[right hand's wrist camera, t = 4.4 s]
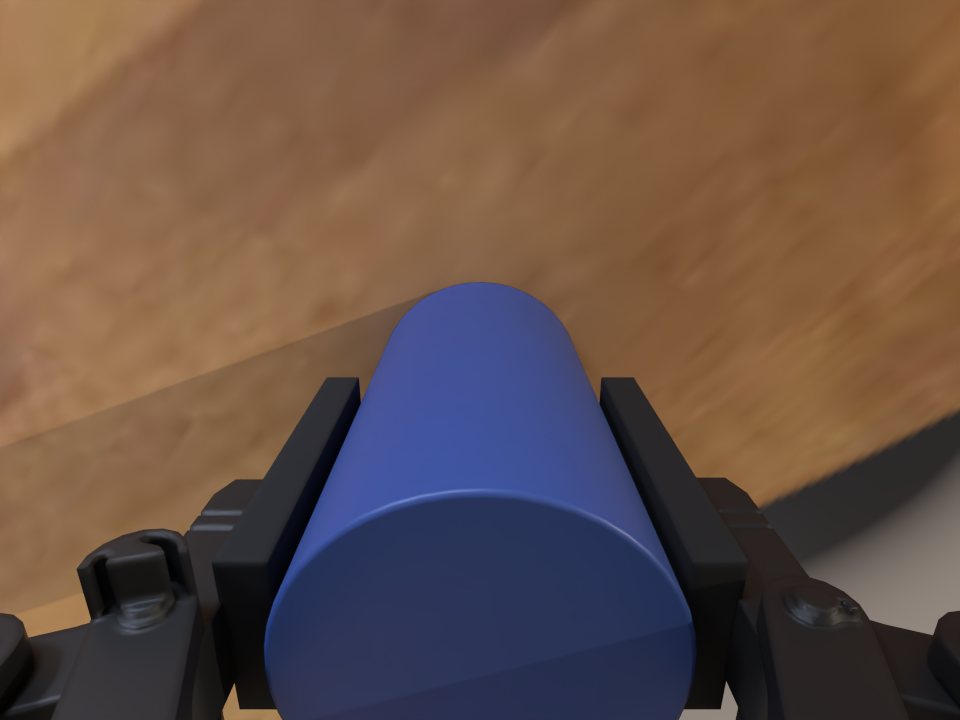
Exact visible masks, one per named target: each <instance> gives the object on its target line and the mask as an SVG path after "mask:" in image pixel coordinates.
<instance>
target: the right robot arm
mask: <svg viewBox="0 0 960 720" xmlns="http://www.w3.org/2000/svg"><path fill="white" fill-rule="evenodd" d="M360 405H361V400H360V387H359V378H326V380H325V381H324V383H323V385H322V386H321V388H320V389H319V391H318V393H317V394H316V396H315V397H314V399H313V401H312V402H311V404H310V405H309V407H308V409H307V410H306V412H305V413H304V415H303V417H302V418H301V420H300V421H299V423H298V425H297V426H296V428H295V429H294V431H293V433H292V434H291V436H290V437H289V439H288V440H287V442H286V444H285V445H284V447H283V448H282V450H281V452H280V453H279V455H278V456H277V458H276V460H275V461H274V463H273V464H272V466H271V468H270V469H269V471H268V472H267V474H266V476H265V477H264V479H263V480H234V481H233V482H232V483H230V484H229V485H227V486H226V487H224V488H223V489H221V490H220V491H219V492H217V493H216V494H214V495H213V497H212V498H211V499H210V501H209V502H208V503H207V505H206V506H205V508H204V509H203V510H202V512H201V516H198V517H197V518H196V520H195V521H194V523H193V524H192V525H191V527H190V531H187V532H186V533H185V535H184V536H182V535H181V534H180V533H179V532H176V531H171V530H167V529H148V530H141V531H137V532H133V533H130V534H126V535H122V536H120V537H118V538H116V539H114V540H111V541H109V542H107V543H105V544H103V545H102V546H100V547H99V548H97V549H96V550H95V551H93V552H92V553H90V554H89V555H88V556H86V558H85V559H84V560H83V562H82V563H81V564H80V565H79V567H78V568H77V572H78V576H79V579H80V582H81V586H82V589H83V593H84V596H85V599H86V603H87V606H88V610H89V613H90V617H91V621H90V623H88V624H84V625H81V626H77V627H73V628H69V629H64V630H60V631H56V632H51V633H47V634H43V635H38V636H34V637H29V638H28V636H27V633H26V630H25V627H24V624H23V622H22V621H21V620H19V619H18V618H17V617H16V616H14V615H11V614H3V613H0V720H224V716H223V711H222V710H223V707H224V705H225V703H226V701H227V698H228V696H229V694H230V692H231V689H232V687H233V685H234V683H235V687H236V692H237V697H238V703H239V708H240V709H277V708H276V706H275V703H274V701H273V698H272V696H271V693H270V689H269V685H268V681H267V676H266V671H265V655H264V642H265V634H266V626H267V622H268V619H269V615H270V612H271V609H272V605H273V602H274V600H275V598H276V596H277V593H278V591H279V589H280V586H281V584H282V582H283V580H284V577H285V575H286V573H287V571H288V568H289V566H290V564H291V561H292V559H293V557H294V555H295V552H296V550H297V548H298V546H299V543H300V541H301V539H302V536H303V534H304V532H305V530H306V527H307V525H308V523H309V521H310V518H311V516H312V514H313V511H314V509H315V507H316V505H317V502H318V500H319V498H320V496H321V493H322V491H323V489H324V486H325V484H326V482H327V480H328V477H329V475H330V473H331V471H332V468H333V466H334V464H335V461H336V459H337V457H338V455H339V452H340V450H341V448H342V446H343V443H344V441H345V439H346V436H347V434H348V432H349V430H350V427H351V425H352V423H353V420H354V418H355V416H356V414H357V411H358V409H359V407H360ZM600 407H601V409H602V411H603V413H604V416H605V418H606V420H607V422H608V425H609V427H610V429H611V431H612V434H613V436H614V438H615V441H616V443H617V445H618V447H619V450H620V452H621V454H622V456H623V459H624V461H625V463H626V465H627V468H628V470H629V472H630V475H631V477H632V479H633V481H634V484H635V486H636V488H637V490H638V493H639V495H640V497H641V499H642V502H643V504H644V506H645V509H646V511H647V513H648V515H649V518H650V520H651V522H652V524H653V527H654V529H655V531H656V534H657V536H658V538H659V540H660V543H661V545H662V547H663V549H664V552H665V554H666V556H667V558H668V561H669V563H670V565H671V568H672V570H673V572H674V574H675V577H676V579H677V581H678V583H679V586H680V588H681V590H682V593H683V595H684V597H685V599H686V602H687V604H688V606H689V609H690V612H691V616H692V620H693V624H694V628H695V634H696V650H697V656H696V665H695V674H694V681H693V684H692V688H691V691H690V695H689V698H688V701H687V703H686V705H685V707H684V709H721V705H722V699H723V694H724V689H725V684H726V681H727V683H728V685H729V688H730V690H731V692H732V694H733V697H734V699H735V701H736V703H737V706H738V711H737V716H736V720H960V611H955V612H948V613H946V614H945V615H944V616H943V617H941V618H940V619H939V620H938V623H937V626H936V629H935V632H934V634H933V635H929V634H925V633H920V632H916V631H911V630H907V629H903V628H898V627H894V626H889V625H885V624H881V623H878V622H875V621H871V620H869V618H868V616H867V615H866V613H865V612H864V611H863V609H862V608H861V606H860V605H859V604H858V603H857V602H856V601H855V600H853V599H852V598H851V597H850V596H849V595H847V594H846V593H845V592H843V591H842V590H840V589H838V588H836V587H834V586H832V585H830V584H828V583H826V582H823V581H820V580H817V579H813V578H810V577H809V576H808V575H807V573H806V572H805V571H804V569H803V568H802V567H801V565H800V564H799V563H798V561H797V560H796V559H795V557H794V556H793V554H792V553H791V552H790V550H789V549H788V548H787V546H786V545H785V544H784V542H783V541H782V540H781V538H780V537H779V536H778V534H777V533H776V532H775V530H774V529H771V527H770V526H771V525H770V523H769V522H768V521H767V519H766V518H765V517H764V515H763V514H760V510H759V509H758V507H757V506H756V505H755V503H754V502H753V500H752V499H751V498H750V496H749V495H748V494H747V493H746V492H745V491H743V490H742V489H741V488H739V487H738V486H736V485H735V484H733V483H732V482H730V481H729V480H727V479H726V478H696V477H695V475H694V473H693V472H692V470H691V469H690V467H689V465H688V464H687V462H686V461H685V459H684V457H683V456H682V454H681V453H680V451H679V449H678V448H677V446H676V445H675V443H674V441H673V440H672V438H671V437H670V435H669V433H668V432H667V430H666V429H665V427H664V425H663V424H662V422H661V421H660V419H659V417H658V416H657V414H656V413H655V411H654V409H653V408H652V406H651V405H650V403H649V401H648V400H647V398H646V397H645V395H644V394H643V392H642V390H641V389H640V387H639V386H638V384H637V382H636V381H635V379H634V378H602V379H601V392H600Z"/></svg>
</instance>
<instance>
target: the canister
mask: <svg viewBox="0 0 960 720" xmlns="http://www.w3.org/2000/svg"><path fill="white" fill-rule="evenodd" d="M264 655H265V671H266V676H267V681H268V685H269V689H270V693H271V696H272V698H273V701H274V703H275V706H276V708H277V711H278V713H279V715H280V716H281V718H282V720H679V718H680V716H681V714H682V712H683V709H684V707H685V705H686V703H687V701H688V698H689V695H690V691H691V688H692V684H693V681H694V674H695V665H696V656H697V650H696V634H695V628H694V624H693V620H692V616H691V612H690V609H689V606H688V604H687V602H686V599H685V597H684V595H683V593H682V590H681V588H680V586H679V583H678V581H677V579H676V577H675V574H674V572H673V570H672V568H671V565H670V563H669V561H668V558H667V556H666V554H665V552H664V549H663V547H662V545H661V543H660V540H659V538H658V536H657V534H656V531H655V529H654V527H653V524H652V522H651V520H650V518H649V515H648V513H647V511H646V509H645V506H644V504H643V502H642V499H641V497H640V495H639V493H638V490H637V488H636V486H635V484H634V481H633V479H632V477H631V475H630V472H629V470H628V468H627V465H626V463H625V461H624V459H623V456H622V454H621V452H620V450H619V447H618V445H617V443H616V441H615V438H614V436H613V434H612V431H611V429H610V427H609V425H608V422H607V420H606V418H605V416H604V413H603V411H602V409H601V407H600V404H599V402H598V400H597V397H596V395H595V393H594V391H593V388H592V386H591V384H590V382H589V379H588V377H587V375H586V372H585V370H584V368H583V366H582V363H581V361H580V359H579V357H578V354H577V352H576V350H575V348H574V345H573V343H572V341H571V338H570V336H569V334H568V332H567V331H566V329H565V327H564V326H563V324H562V323H561V321H560V320H559V319H558V318H557V317H556V315H555V314H554V313H553V312H552V311H551V310H550V309H549V308H548V307H546V306H545V305H544V304H543V303H541V302H540V301H539V300H537V299H536V298H534V297H533V296H531V295H529V294H527V293H525V292H523V291H520V290H518V289H515V288H512V287H509V286H505V285H500V284H495V283H484V282H480V283H466V284H460V285H455V286H452V287H448V288H445V289H442V290H440V291H438V292H436V293H433V294H431V295H430V296H428V297H426V298H425V299H423V300H422V301H420V302H419V303H417V304H416V305H415V306H414V307H413V308H412V309H410V310H409V311H408V312H407V314H406V315H405V316H404V317H403V318H402V319H401V320H400V322H399V323H398V325H397V326H396V328H395V329H394V331H393V333H392V335H391V337H390V339H389V341H388V343H387V345H386V348H385V350H384V352H383V355H382V357H381V359H380V361H379V364H378V366H377V368H376V370H375V373H374V375H373V377H372V380H371V382H370V384H369V386H368V389H367V391H366V393H365V395H364V398H363V400H362V402H361V405H360V407H359V409H358V411H357V414H356V416H355V418H354V420H353V423H352V425H351V427H350V430H349V432H348V434H347V436H346V439H345V441H344V443H343V446H342V448H341V450H340V452H339V455H338V457H337V459H336V461H335V464H334V466H333V468H332V471H331V473H330V475H329V477H328V480H327V482H326V484H325V486H324V489H323V491H322V493H321V496H320V498H319V500H318V502H317V505H316V507H315V509H314V511H313V514H312V516H311V518H310V521H309V523H308V525H307V527H306V530H305V532H304V534H303V536H302V539H301V541H300V543H299V546H298V548H297V550H296V552H295V555H294V557H293V559H292V561H291V564H290V566H289V568H288V571H287V573H286V575H285V577H284V580H283V582H282V584H281V586H280V589H279V591H278V593H277V596H276V598H275V600H274V602H273V605H272V609H271V612H270V615H269V619H268V622H267V626H266V634H265V642H264Z"/></svg>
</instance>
